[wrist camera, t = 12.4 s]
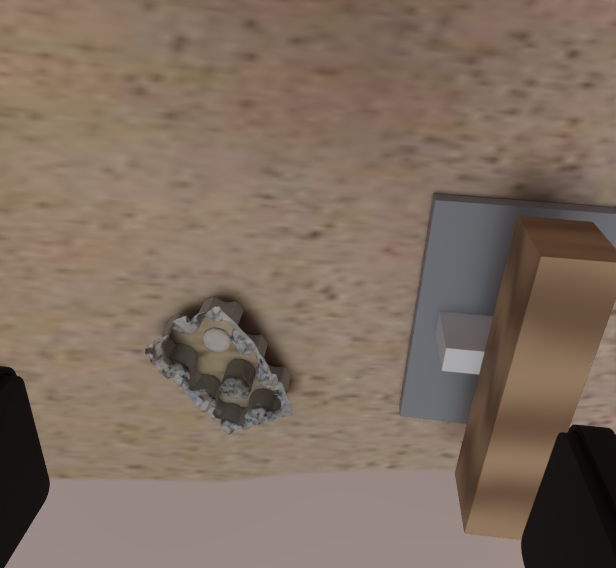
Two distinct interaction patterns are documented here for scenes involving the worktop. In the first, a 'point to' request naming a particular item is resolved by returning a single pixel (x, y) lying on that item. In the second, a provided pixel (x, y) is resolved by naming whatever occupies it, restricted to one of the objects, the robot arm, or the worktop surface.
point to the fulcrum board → (467, 295)
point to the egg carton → (238, 374)
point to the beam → (533, 367)
